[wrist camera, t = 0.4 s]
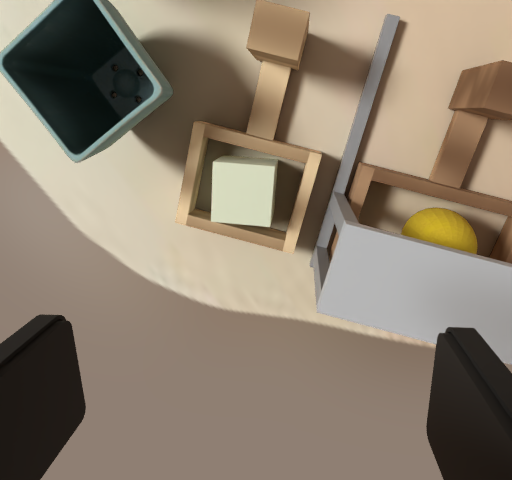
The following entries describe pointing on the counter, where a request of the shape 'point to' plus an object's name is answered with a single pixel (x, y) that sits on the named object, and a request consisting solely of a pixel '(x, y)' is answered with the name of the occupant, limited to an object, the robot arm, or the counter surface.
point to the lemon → (442, 229)
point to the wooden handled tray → (456, 151)
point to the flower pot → (83, 75)
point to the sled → (258, 127)
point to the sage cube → (243, 190)
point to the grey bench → (404, 262)
